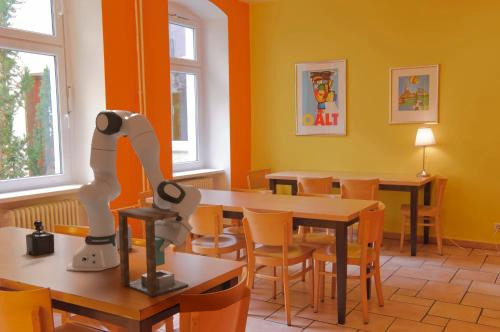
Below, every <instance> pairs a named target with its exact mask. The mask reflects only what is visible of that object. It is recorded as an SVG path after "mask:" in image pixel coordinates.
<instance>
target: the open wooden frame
mask: <svg viewBox="0 0 500 332" xmlns="http://www.w3.org/2000/svg"><path fill="white" fill-rule="evenodd" d="M117 212H118V226H119V243H120V250H119V262H120V264H119V265H120V266H119V267H120V284H121V285H123V286H124V285H128V284H130V282H131V281H130V280H131V279H130V254H129V253H130V252H129V250H130V249H128V225H129V222H128V218H131V219H136V220H142V221H144V230H145V232H144V233H145V254H146V255H145V257H146V273H147V292H148V295H147V296H150V297H153V295H156V294H157V281H156V270H157V266H156V250H155V222H156V221H157V220H162V219H167V218H173V217H179V212H174V211H169V210H163V209H157V208H155V207H152V206H151V207H150V206H142V207H136V208H128V209H121V210H118V211H117Z"/></svg>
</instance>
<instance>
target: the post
mask: <svg viewBox="0 0 500 332" xmlns="http://www.w3.org/2000/svg"><path fill="white" fill-rule="evenodd" d="M164 243H165V242H164V239H162V238H158V237H157V238H155V250H156V267H158V266H163V265H165V264H166V261H165V260H166V258H165V255H166V254H165V250H164V251H163V252H161V251H159V250H158V248H159V246H161V245H162V244H164Z"/></svg>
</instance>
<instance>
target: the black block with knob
mask: <svg viewBox="0 0 500 332" xmlns="http://www.w3.org/2000/svg"><path fill="white" fill-rule="evenodd" d="M33 226H34V227H35V228H34V230H35V231H32V233H28V234H26V235H25V242H26V244H25V245H26V254H28V255H29V256H34V257H37V256H38V257H39V256H43V255H48V254H53V253H55V235H54V233H51V232H47V231H45V226H43V222H42V221H41V219H38V220H34V222H33Z"/></svg>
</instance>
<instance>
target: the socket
mask: <svg viewBox="0 0 500 332" xmlns="http://www.w3.org/2000/svg"><path fill="white" fill-rule="evenodd" d="M156 281H157V294H156V295H153V296H152V297H153V298H156V297H159V296H162V295H164V294H168V293H171V292H174V291H175V292H176V291H178V290H181V289H184V288H187V287H189V284H188V283H185V282H183V281H180V280H177V279H175V273H174V272H170V271H167V270H164V269H161V270H157V269H156ZM123 286H124V287H127V288H130V289H132V290H135V291H138V292H140V293H141V294H145V295H147V296H149V295H148V292H147V272H146V273H143V274H142V275H140V278H139V279H135V280H131V281H130V284H128V285H123Z"/></svg>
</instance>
